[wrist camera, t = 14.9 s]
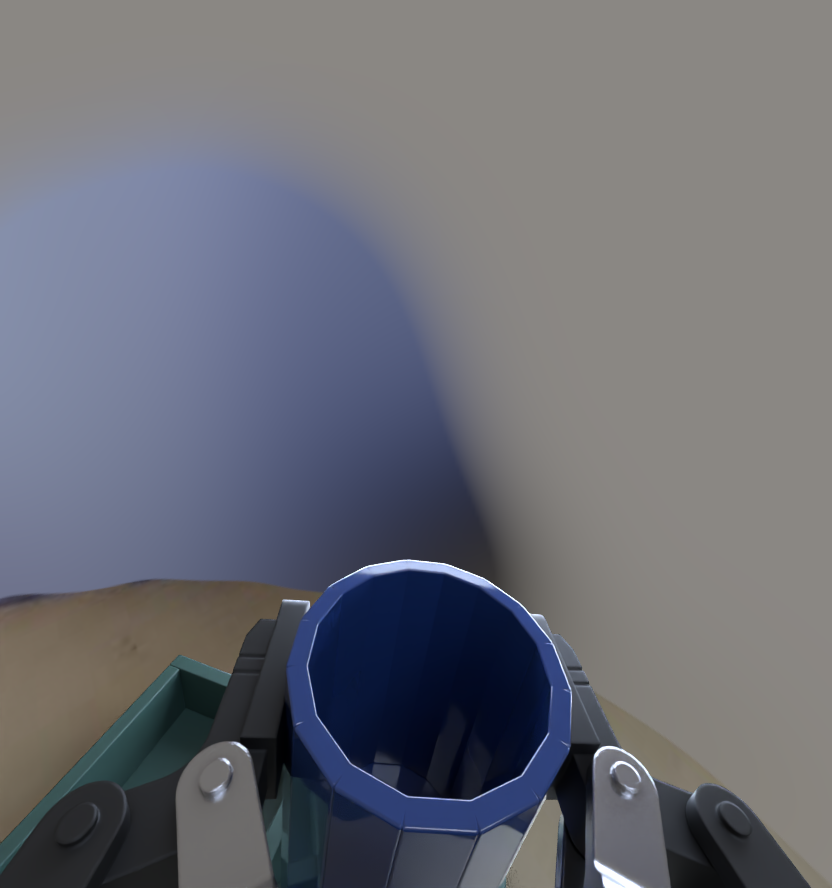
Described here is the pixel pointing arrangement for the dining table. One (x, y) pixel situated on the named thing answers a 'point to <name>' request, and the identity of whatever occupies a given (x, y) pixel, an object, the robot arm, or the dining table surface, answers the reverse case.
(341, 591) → the cup
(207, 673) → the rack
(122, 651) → the dining table surface
